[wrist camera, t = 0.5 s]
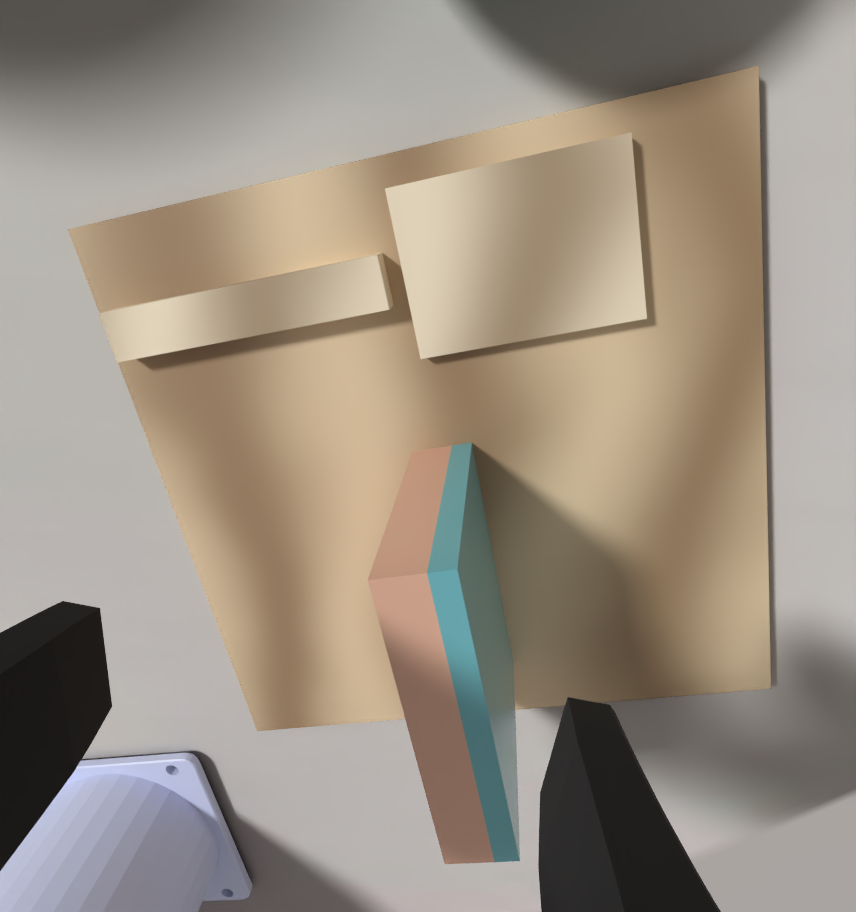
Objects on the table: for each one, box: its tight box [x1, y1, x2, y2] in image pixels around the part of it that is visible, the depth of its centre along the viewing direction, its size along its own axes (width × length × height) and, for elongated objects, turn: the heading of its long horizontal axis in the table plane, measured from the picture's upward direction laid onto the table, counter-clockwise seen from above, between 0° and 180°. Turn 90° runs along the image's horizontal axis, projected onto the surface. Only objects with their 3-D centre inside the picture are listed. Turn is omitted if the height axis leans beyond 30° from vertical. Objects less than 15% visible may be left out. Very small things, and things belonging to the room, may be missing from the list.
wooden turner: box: [99, 132, 647, 363], centre depth 17 cm, size 14×4×1 cm, turn 102°
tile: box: [368, 443, 520, 864], centre depth 17 cm, size 2×8×7 cm, turn 12°
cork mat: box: [68, 66, 771, 731], centre depth 19 cm, size 18×18×1 cm
